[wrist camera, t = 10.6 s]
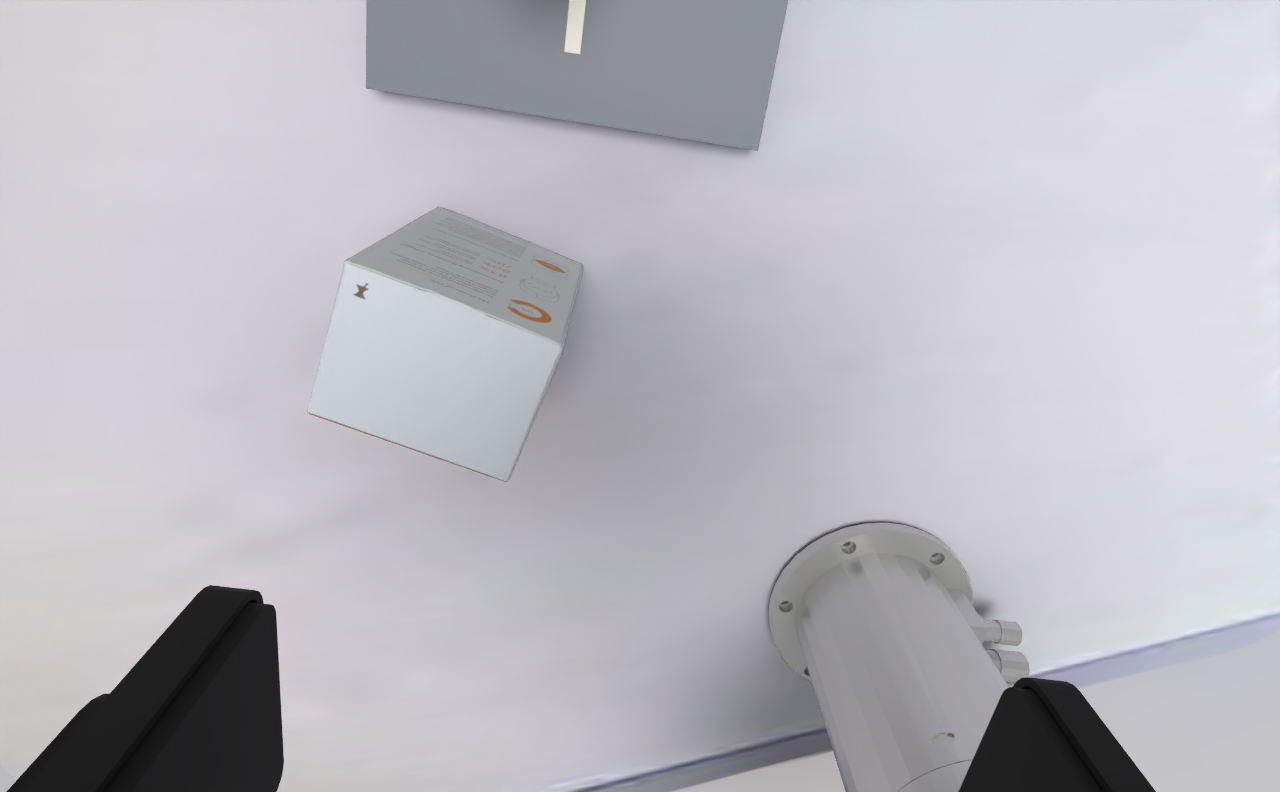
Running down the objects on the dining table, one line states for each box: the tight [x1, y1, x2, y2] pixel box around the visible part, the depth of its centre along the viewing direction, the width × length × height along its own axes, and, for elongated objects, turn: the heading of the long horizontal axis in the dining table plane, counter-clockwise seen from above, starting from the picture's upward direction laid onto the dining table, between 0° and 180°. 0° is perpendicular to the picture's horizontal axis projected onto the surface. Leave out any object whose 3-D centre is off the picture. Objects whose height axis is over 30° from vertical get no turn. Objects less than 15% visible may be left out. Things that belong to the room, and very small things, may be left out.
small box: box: [307, 207, 583, 482], centre depth 32 cm, size 8×6×13 cm
